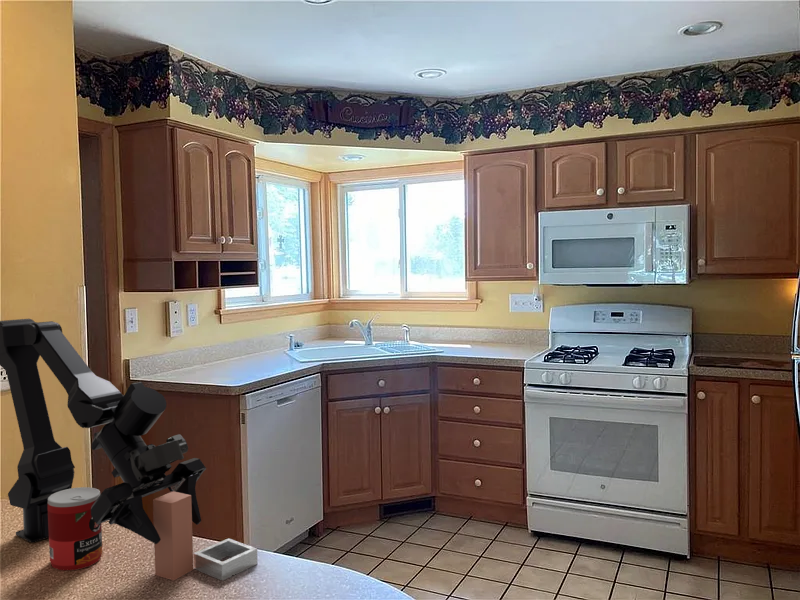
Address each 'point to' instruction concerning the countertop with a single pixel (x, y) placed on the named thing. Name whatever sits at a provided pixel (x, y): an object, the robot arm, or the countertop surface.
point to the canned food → (73, 529)
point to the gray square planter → (239, 562)
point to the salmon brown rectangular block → (173, 535)
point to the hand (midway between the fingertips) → (179, 532)
